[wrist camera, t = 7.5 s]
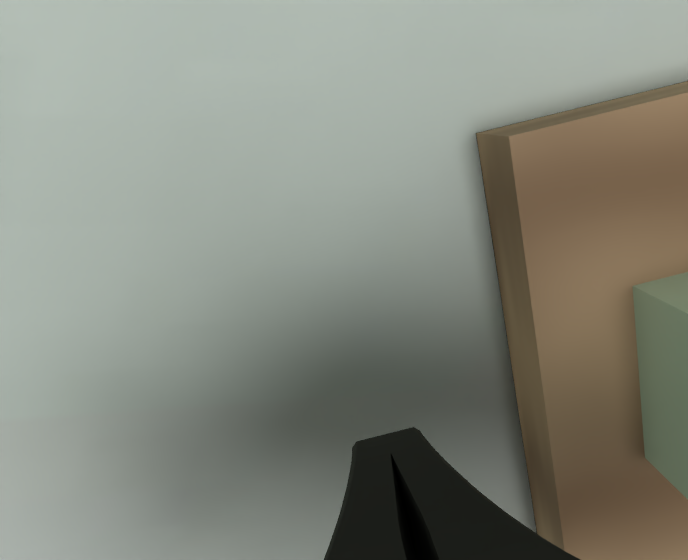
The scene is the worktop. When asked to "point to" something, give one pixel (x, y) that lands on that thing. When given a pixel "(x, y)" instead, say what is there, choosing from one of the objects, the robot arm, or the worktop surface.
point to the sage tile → (664, 374)
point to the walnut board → (590, 309)
